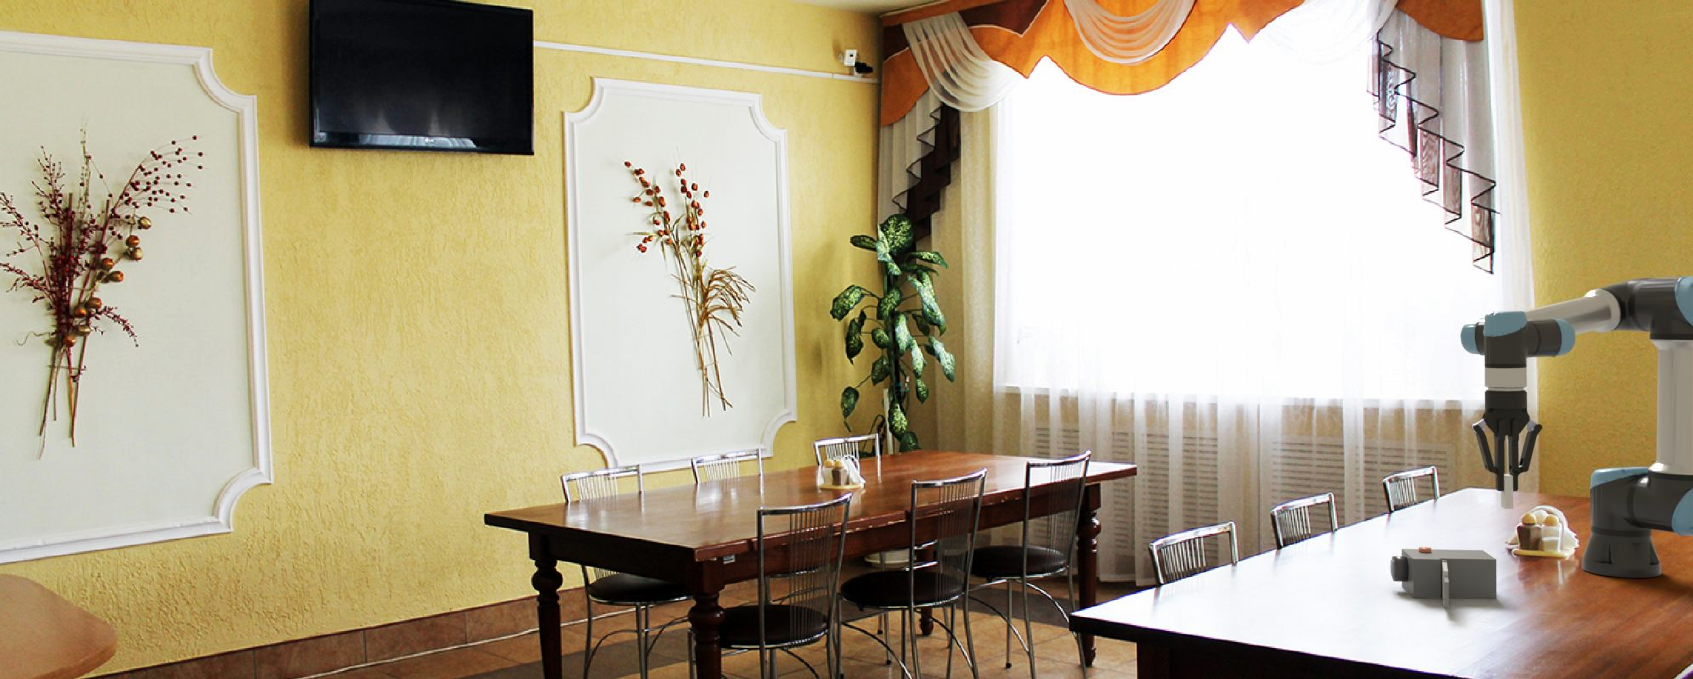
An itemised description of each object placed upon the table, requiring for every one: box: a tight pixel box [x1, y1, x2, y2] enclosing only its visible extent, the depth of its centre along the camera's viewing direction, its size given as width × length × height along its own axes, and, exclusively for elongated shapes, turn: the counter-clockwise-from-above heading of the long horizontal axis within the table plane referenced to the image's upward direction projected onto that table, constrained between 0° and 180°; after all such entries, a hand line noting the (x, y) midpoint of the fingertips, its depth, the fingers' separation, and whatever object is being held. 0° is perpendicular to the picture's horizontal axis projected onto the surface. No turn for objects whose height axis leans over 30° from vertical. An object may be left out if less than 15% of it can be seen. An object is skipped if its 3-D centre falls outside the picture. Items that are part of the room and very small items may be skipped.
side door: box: [1441, 560, 1450, 609], centre depth 262 cm, size 16×1×8 cm, turn 157°
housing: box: [1389, 546, 1497, 600], centre depth 274 cm, size 19×11×9 cm, turn 79°
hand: (1507, 507), depth 263 cm, fingers closed
